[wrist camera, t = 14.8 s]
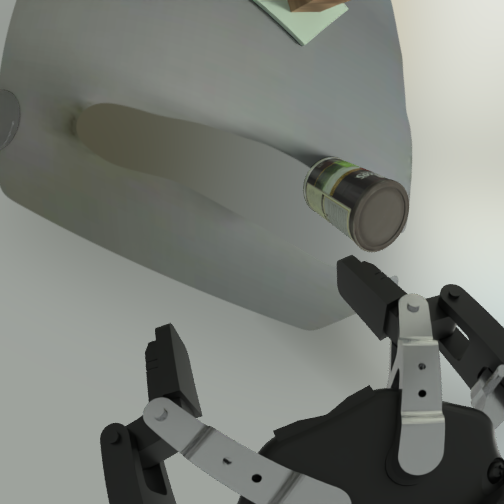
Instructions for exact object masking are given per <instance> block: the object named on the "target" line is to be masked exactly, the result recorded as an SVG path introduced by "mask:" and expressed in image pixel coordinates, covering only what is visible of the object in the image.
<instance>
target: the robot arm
mask: <svg viewBox="0 0 504 504" xmlns="http://www.w3.org/2000/svg"><path fill="white" fill-rule="evenodd" d="M19 118H20V108H19V104H18V101H17V99H16V97H15V96H14V95H13V94H12V93H11V92H9V91H6V90H0V150H1V149H3V148H4V147H6V146H7V145H8V144H9V143H10V141H11V140H12V139H13V137H14V135H15V133H16V131H17V128H18V124H19ZM337 286H338V290H339V293H340V295H341V296H342V297H343V299H344V300H345V301H346V302H347V303H348V304H349V305H350V306H351V308H352V309H353V310H354V311H355V312H356V313H357V314H358V315H359V317H360V318H361V319H362V320H363V321H364V322H365V323H366V325H367V326H368V327H369V328H370V329H371V330H372V332H373V333H374V334H375V335H376V336H377V337H378V338H379V340H382V339H384V338H386V337H389V338H390V339H391V341H390V359H389V377H388V383H387V388H384V389H376V390H372V388H371V387H370V385H369V386H367V387H365V388H364V389H362V390H360V391H358V392H356V393H355V394H353V395H351V396H349V397H347V398H346V399H345V400H344V401H343V402H341V403H340V404H339V405H338V406H337V407H336V408H335V409H333V410H332V411H331V412H330V413H328V414H326V415H324V416H319V417H315V418H309V419H305V420H299V421H297V422H294V423H292V424H289V425H287V426H285V427H282V428H279V429H277V430H274V434H275V437H274V438H272V439H271V440H270V441H268V442H267V443H266V444H265V445H264V446H263V447H262V448H261V450H260V451H259V452H258V453H256V452H254V451H252V450H250V449H248V448H247V447H245V446H243V445H241V444H239V443H238V442H236V441H235V440H233V439H231V438H229V437H228V436H226V435H224V434H223V433H221V432H220V431H218V430H216V429H215V428H213V427H211V426H207V425H205V424H204V423H202V422H200V421H199V420H198V419H196V418H198V417H201V416H202V412H201V408H200V404H199V400H198V396H197V392H196V388H195V384H194V379H193V374H192V370H191V365H190V361H189V357H188V353H187V350H186V348H185V345H184V344H183V342H182V340H181V339H180V337H179V335H178V333H177V332H176V330H175V328H174V326H173V325H172V324H171V323H170V324H167V325H164V326H161V327H158V328H156V329H155V335H156V341H152V342H150V343H149V344H148V346H147V349H146V352H145V359H146V370H147V372H146V373H147V386H148V397H149V403H148V404H147V405H146V407H145V409H144V411H143V415H142V416H141V417H140V418H138V419H137V420H135V421H134V422H132V423H130V424H129V425H127V426H124V425H122V424H119V423H113V424H110V425H108V426H107V427H105V428H104V430H103V431H102V433H101V437H100V443H101V453H102V461H103V469H104V476H105V481H106V488H107V493H108V498H109V503H110V504H176V501H175V498H174V495H173V492H172V489H171V485H170V482H169V479H168V475H167V472H166V468H165V465H164V460H165V459H167V458H169V457H171V456H172V455H174V454H176V453H177V452H180V453H181V454H182V455H183V456H184V457H185V458H186V459H188V460H189V461H190V462H192V463H193V464H194V465H196V466H197V467H199V468H200V469H201V470H203V471H204V472H206V473H207V474H209V475H210V476H211V477H213V478H214V479H216V480H217V481H219V482H220V483H222V484H224V485H225V486H227V487H229V488H230V489H232V490H233V491H235V492H237V493H238V494H240V495H241V496H240V498H239V501H238V503H237V504H504V460H503V458H502V457H501V455H500V453H499V450H498V446H497V442H496V436H495V429H496V428H497V427H498V426H499V425H500V424H501V423H502V422H503V421H504V328H503V327H502V326H501V325H500V324H499V323H498V322H497V321H496V320H495V319H494V318H493V317H492V316H491V315H490V314H489V313H488V312H487V311H486V310H485V309H484V308H483V307H482V306H481V305H480V304H479V303H478V302H477V301H476V300H475V299H473V298H472V297H471V296H470V295H469V294H468V293H467V292H466V291H465V290H464V289H462V288H461V287H460V286H457V285H453V284H449V285H445V286H444V287H443V288H442V289H441V292H440V295H439V296H435V297H431V298H427V299H424V298H423V297H422V296H420V295H418V294H407V293H406V292H404V291H403V290H402V289H401V288H400V287H399V286H398V285H397V284H396V283H394V282H393V281H392V280H391V279H390V278H389V277H387V276H386V275H385V274H384V273H383V272H381V271H380V270H379V269H378V268H377V267H376V266H375V265H373V264H371V263H368V262H365V261H363V262H360V261H359V260H358V259H357V258H356V257H354V256H353V255H350V256H348V257H345V258H343V259H341V260H339V261H337ZM456 325H458V326H459V327H460V328H461V329H462V331H463V332H464V333H465V334H466V335H467V336H468V338H469V340H468V339H467V338H466V337H465V336H464V335H463V334H462V333H461V332H460V331H459V329H458V328H457V327H456ZM439 351H440V352H441V353H442V354H443V355H444V356H445V358H446V359H447V360H448V361H449V363H450V364H451V365H452V366H453V368H454V369H455V370H456V371H457V373H458V374H459V375H460V376H461V377H462V379H463V380H464V381H465V383H466V384H467V385H468V387H469V388H470V389H471V399H472V401H471V405H472V406H473V407H474V408H471V407H466V406H461V405H457V404H452V403H448V402H444V401H442V385H441V368H440V356H439Z"/></svg>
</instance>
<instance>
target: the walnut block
mask: <svg viewBox="0 0 504 504" xmlns="http://www.w3.org/2000/svg"><path fill="white" fill-rule="evenodd" d="M287 1H288V4H289V7H290V11H291V12H322V11H324V10H326V9H329V8H331V7H334V6H336V5H339V4H341V3H344V2H347V1H350V0H287Z"/></svg>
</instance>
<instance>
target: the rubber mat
mask: <svg viewBox="0 0 504 504" xmlns="http://www.w3.org/2000/svg"><path fill="white" fill-rule="evenodd" d="M253 1H254V2H255V3H256V4H257V5H259V6H260V7H261V8H262V9H263V10H264V11H266V12H267V13H268V14H269V15H270V16H271V17H272V18H273V19H275V20H276V21H277V22H278V23H279V24H280V25H281V26H282V27H283V28H284V29H285V30H286V31H287V32H288V33H289V34H290V35H291V36H293V37H294V38H295V39H296V40H297V41H298V43H299V44H300V45H301V46H304V45H306V44H307V43H308V42H309V41H310V40H312V39H313V38H314V37H315V36H316V35H317V34H319V33H320V32H321V31H322V30H323V29H324V28H326V27H327V26H328V25H329V24H330V23H332V22H333V21H334V20H335V19H337V18H338V17H339V16H340V15H342V14H343V13H344V12H345V11H347V10H348V8H347V6H346V5H345V4H344V3H341V4H339V5H336V6H334V7H331V8H329V9H326V10H324V11H322V12H291V11H290V7H289V4H288V1H287V0H253Z"/></svg>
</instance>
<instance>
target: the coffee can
mask: <svg viewBox="0 0 504 504" xmlns="http://www.w3.org/2000/svg"><path fill="white" fill-rule="evenodd" d="M303 189H304V190H303V193H304V198H305V201H306V203H307V205H308V206H309V207H310V208H311V209H312V210H313V211H315V212H317V213H318V214H319V215H321V216H322V217H323V218H325V219H326V220H327V221H329V222H330V223H331V224H332V225H334V226H335V227H336V228H337V229H339V230H340V231H341V232H343V233H344V234H345V235H346V236H348V237H349V238H350V239H352V240H353V241H354V242H355V243H356V244H357V245H358V246H359V247H360V248H361V249H363V250H364V251H367V252H377V251H380V250H383V249H384V248H386V247H387V246H389V245H390V244H392V242H394V241H395V239H396V238H397V237H398V236H399V235H400V233H401V232H402V230H403V228H404V226H405V223H406V221H407V217H408V213H409V199H408V195H407V192H406V190H405V188H404V187H403V186H402V185H401V184H400V183H398V182H396V181H394V180H390V179H387V178H385V177H383V176H380V175H378V174H375V173H373V172H371V171H369V170H366V169H363V168H361V167H359V166H356V165H354V164H351V163H349V162H346V161H344V160H342V159H340V158H336V157H328V158H324V159H322V160H320V161H318V162H317V163H316V164H315V165H313V166H312V168H311V169H310V170H309V172H308V174H307V176H306V178H305V181H304V187H303Z"/></svg>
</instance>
